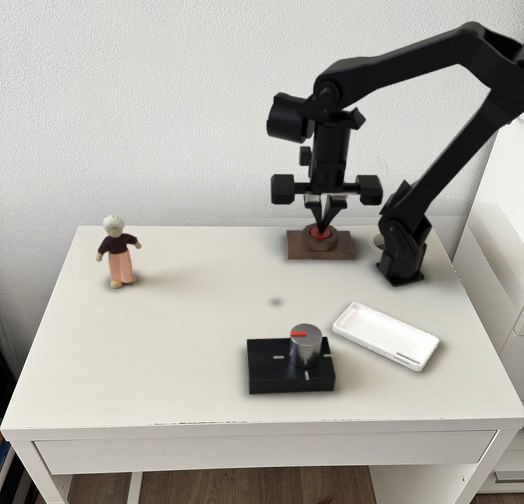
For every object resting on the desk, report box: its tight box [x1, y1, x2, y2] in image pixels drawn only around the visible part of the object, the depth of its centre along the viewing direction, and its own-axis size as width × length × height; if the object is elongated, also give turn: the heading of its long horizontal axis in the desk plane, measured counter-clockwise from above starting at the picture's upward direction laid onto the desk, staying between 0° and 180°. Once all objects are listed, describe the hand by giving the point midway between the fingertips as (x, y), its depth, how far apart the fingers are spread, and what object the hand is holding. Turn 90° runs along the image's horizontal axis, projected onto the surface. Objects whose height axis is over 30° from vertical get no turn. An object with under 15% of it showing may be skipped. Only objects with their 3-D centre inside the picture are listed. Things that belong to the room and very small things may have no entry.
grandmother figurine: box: [95, 214, 143, 289], centre depth 88 cm, size 8×4×13 cm, turn 131°
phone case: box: [332, 301, 440, 372], centre depth 83 cm, size 7×1×15 cm
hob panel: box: [246, 336, 337, 395], centre depth 77 cm, size 12×9×3 cm
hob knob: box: [288, 322, 323, 368], centre depth 75 cm, size 4×4×5 cm
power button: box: [310, 227, 331, 239], centre depth 98 cm, size 4×4×2 cm
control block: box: [285, 222, 355, 261], centre depth 98 cm, size 12×7×4 cm, turn 91°
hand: (320, 231), depth 97 cm, fingers closed, pressing on power button
